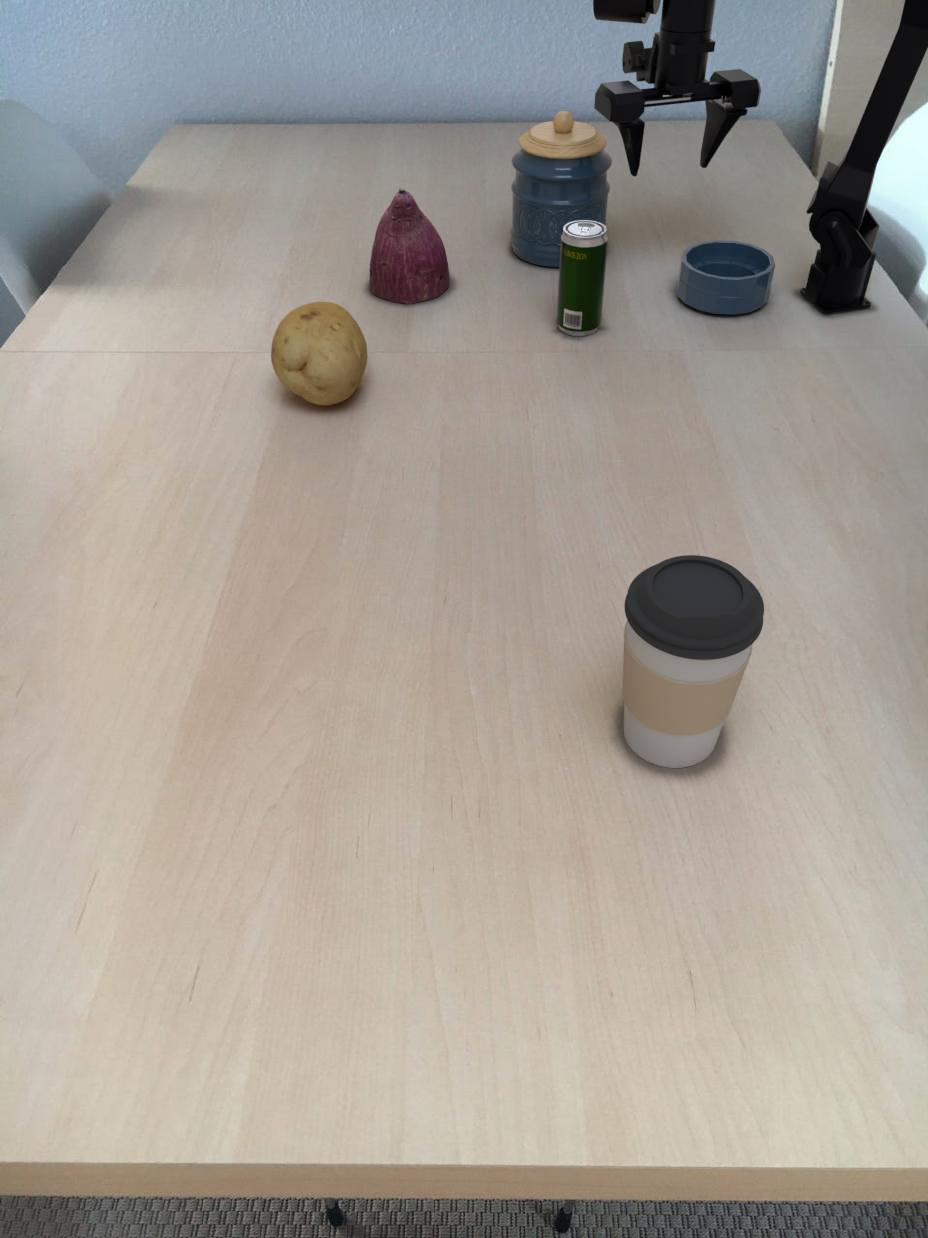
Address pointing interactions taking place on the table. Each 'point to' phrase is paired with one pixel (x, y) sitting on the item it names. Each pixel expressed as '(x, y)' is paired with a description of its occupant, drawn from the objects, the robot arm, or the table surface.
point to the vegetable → (407, 255)
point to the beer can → (581, 277)
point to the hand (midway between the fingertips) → (668, 170)
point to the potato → (319, 353)
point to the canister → (557, 185)
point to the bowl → (725, 277)
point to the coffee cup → (685, 655)
